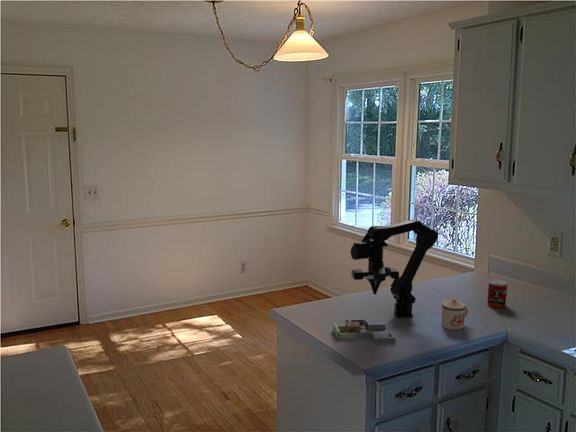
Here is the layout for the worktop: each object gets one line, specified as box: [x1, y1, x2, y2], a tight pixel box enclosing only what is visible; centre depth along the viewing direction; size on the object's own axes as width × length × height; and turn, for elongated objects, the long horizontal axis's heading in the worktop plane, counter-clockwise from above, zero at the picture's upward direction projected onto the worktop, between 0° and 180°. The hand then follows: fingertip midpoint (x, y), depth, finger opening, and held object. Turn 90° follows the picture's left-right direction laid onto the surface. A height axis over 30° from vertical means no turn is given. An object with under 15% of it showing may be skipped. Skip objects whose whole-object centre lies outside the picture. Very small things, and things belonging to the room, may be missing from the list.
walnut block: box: [344, 321, 362, 333], centre depth 210 cm, size 5×5×4 cm
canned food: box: [487, 279, 508, 309], centre depth 241 cm, size 8×8×11 cm
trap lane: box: [332, 318, 396, 345], centre depth 210 cm, size 21×20×3 cm
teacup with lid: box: [441, 297, 469, 331], centre depth 218 cm, size 12×9×12 cm
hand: (374, 294), depth 223 cm, fingers closed
